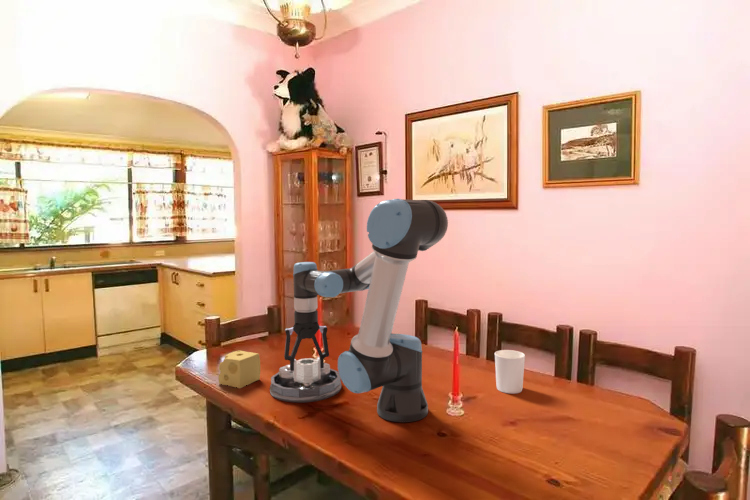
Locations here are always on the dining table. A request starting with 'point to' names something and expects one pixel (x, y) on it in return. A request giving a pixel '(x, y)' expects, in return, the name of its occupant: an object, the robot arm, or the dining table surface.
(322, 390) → the carrier
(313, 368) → the octagonal hollow container
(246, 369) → the cheese
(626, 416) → the dining table surface
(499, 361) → the white tapered cup
